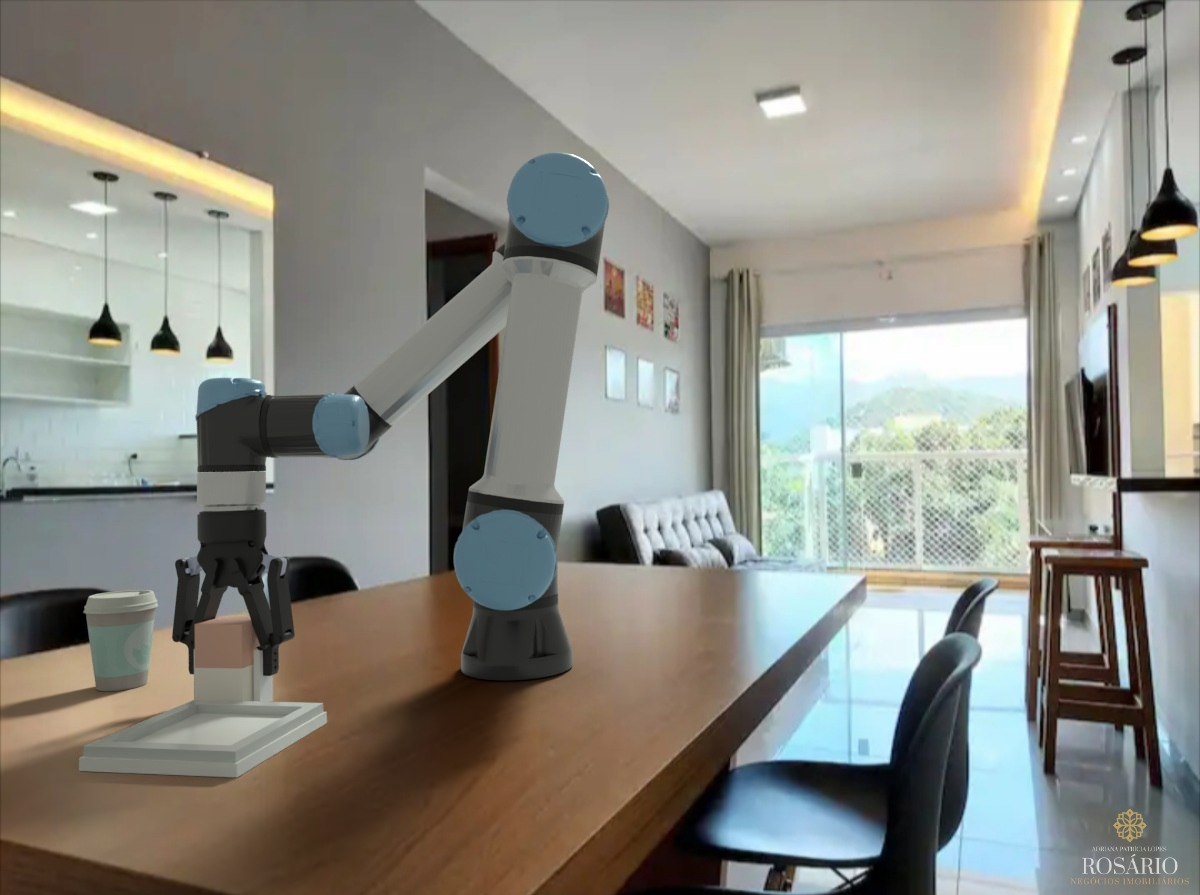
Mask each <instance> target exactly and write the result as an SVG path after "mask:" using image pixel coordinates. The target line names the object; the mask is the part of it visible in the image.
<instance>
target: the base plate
mask: <svg viewBox="0 0 1200 895" xmlns="http://www.w3.org/2000/svg"><path fill="white" fill-rule="evenodd" d="M327 714H328V712H327V711H324V703H323V702H301V701H300V702H297V701H296V702H295V701H294V702H293V701H270V702H262V701H221V700H194V699H192V700H191V701H187V702H186V703H184V704H181V705H179V706H177V707H174V708H171V709H169V710H167V711H164V712H162V713H159V714H157V715H154V716H153V717H149V718H148V719H145V720H143V721H140V722H138V723H135V724H133V725H131V726H128V727H126V728H123V729H121V730H119V731H115V732H114V733H111V734H109V735H107V736H104V737H102V738H100V739H99V738H98V739H97V740H95V741H93V742H90V743H88V744H84V745H83V755H82V756H80V757H79V759H78V771H79V772H94V773H95V772H98V773H118V774H119V773H121V774H142V775H144V774H145V775H147V774H148V775H164V776H165V775H169V776H189V777H190V776H191V777H192V776H193V777H195V776H196V777H213V778H214V777H216V778H217V777H218V778H238V777H240V776H242V775H244V774H245V773H247V772H249V771H250V770H252V769H254V768H255V767H256V766H258V765H260V764H262V763H263V762H265V761H267V760H268V759H270V758H272V757H273V756H275V755H276V754H279V753H280V752H281V751H283V750H284V749H286V748H288V747H290V746H291V745H293V744H295V743H296V742H298V741H300V740H301V739H302V738H305V737H306V736H308V735H310V734H311V733H313V732H314V731H316V730H318V729H319V728H321V727H323V726H325V725H326V724H327V723H328V715H327Z"/></svg>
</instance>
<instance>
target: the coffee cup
mask: <svg viewBox="0 0 1200 895" xmlns="http://www.w3.org/2000/svg"><path fill="white" fill-rule="evenodd" d="M157 607H159V604H158V599H157V598H156V595H155V591H153V590H150V589H148V590H147V589H131V590H118V591H109V592H101V593H95V594H92V595H89V596H88V598H87V601H86V604H85V605H84V609H83V612H82V613H83V614H85V616H86V617H85V618H86V625H87V630H88V631H87V632H88V639H89V640H88V641H89V646H90V653H91V654H90V655H91V661H92V669H93V677H94V682H95V689H96V690H97V691H99V692H121V691H127V690H131V689H136V688H139V687H142V686H145V685H147V683H148V677H149V671H150V670H149V669H150V661H151V654H152V653H151V652H152V644H153V636H154V626H155V617H156V609H157Z"/></svg>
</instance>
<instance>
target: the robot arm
mask: <svg viewBox="0 0 1200 895" xmlns="http://www.w3.org/2000/svg"><path fill="white" fill-rule="evenodd" d="M607 192H608V191H607V187H606V185H605V182H604V179H603V177H601V175H600V173H599V172H598V171H597V170H596V169H595V167H593V165H592V164H590V163H589V162H588V161H587V160H585V159H583V158H581V157H579V156H577V155H574V154H572V153H567V152H562V151H557V152H555V151H554V152H547V153H546V152H545V153H542V154H540V155H536V156H535V157H533V158H531V159H529V160H528V161H526V162H525V163H524V164H522V165H521V167H520V168H519V169H518V170H517V171H516V172H515V174H514V175H513V178H512V180H511V181H510V185H509V188H508V192H507V196H506V205H507V211H508V224H507V230H506V238H505V241H504V242H503V244H501V245H500V246H499V247H498V248H497V249H496V250H495V251H493V252H492V261H491V264H490V265H489V266H488V267H487V268H485V270H483V271H482V272H481V273H480V274H479V275H478V276H476V277H475V278H474V279H473V280H471V282H470V283H468V284H467V285H466V286H465V287H464V288H463V289H462V290H460V292H458V293H457V294H456V295H455V296H453V297H452V298H451V299H450V300H449V301H448V302H447V303H446V304H445V305H443V306H442V307H441V308H440V309H438V311H437V312H435V313H434V314H433V315H432V316H431V317H430V318H428V320H426V321H425V322H424V323H423V324H422V325H420V326H419V327H418V328H417V329H416V330H414V332H413V333H411V334H410V335H409V336H408V337H407V338H406V339H405V340H404V341H402V342H401V343H400V344H399V345H398V346H397V347H396V348H394V349H393V350H392V351H391V352H390V353H389V354H388V355H386V356H385V357H384V358H383V359H382V360H381V361H379V362H378V364H376V365H375V366H374V367H373V368H372V369H371V370H369V371H368V372H367V373H366V374H365V375H364V376H363V377H361V378H360V379H359V380H358V381H357V382H356V383H355V384H353V386H352V387H351V388H349V389H348V390H347V391H345V392H344V393H343V394H342V393H337V392H330V393H327V394H303V395H302V394H299V395H298V394H297V395H272V394H268V392H266V385H265V384H264V383H263V381H261V380H259V379H256V378H255V379H254V378H247V377H212V378H207V379H206V380H203V381H201V383H199V386H198V389H197V401H196V402H197V403H196V404H197V406H196V414H195V417H194V418H195V421H196V446H197V452H196V453H197V467H196V468H197V473H196V505H197V506H198V507H202V510H203V511H199V513H198V514H197V519H196V520H197V525H196V526H197V527H196V528H197V541H198V542H199V544H200V548H199V551H198V552H197V554H196V556H193V557H192V556H191V557H185V558H178V559H176V561H175V563H174V566H175V571H176V572H175V573H176V576H177V586H176V595H175V596H176V597H175V605H174V613H173V614H174V615H173V625H172V634H171V638H172V639H171V640H172V641H173V642H174V643H182V644H183V645H185V646H186V648H187V649H188V651H187V652H188V673H189V675H193V700H195V624H197V623H201V622H205V621H208V620H212V619H215V618H217V617H216V616H217V613H218V612H219V608H220V605H221V601H222V598H223V596H224V594H225V592H227V590H228V589H229V587H230V588H234V589H235V588H236V589H237V592H238V594H239V595H240V596H242V598H243V601H244V604H245V607H246V611H247V612H248V615H250V618H251V621H252V624H253V627H254V630H255V633H256V635H257V638H258V641H259V644H260V646H258V647H257V649H255V650H254V701H262V702H273V701H274V675H276V674H278V673H279V669H280V667H279V666H280V665H279V663H280V658H279V648H280V645H281V644H283V643H285V642H288V641H290V640H293V639H294V637H295V636H296V635H295V626H294V619H293V609H292V602H291V593H290V586H289V578H288V575H289V571H290V566H291V559H290V557H288V556H282V557H278V556H274V555H269V553H268V550H267V549H266V545H265V542H266V538H267V511H266V510H265V509H262V508H261V506H262V505H265V504H266V503H267V491H266V490H267V483H266V482H267V481H266V480H267V477H266V476H267V474H266V472H267V465H266V462H267V458H271V459H275V458H276V459H278V458H323V459H337V460H342V461H353V460H354V461H355V460H358V459H361V458H364V457H366V456H367V455H369V454H370V453H372V451H374V450H375V448H376V447H377V445H378V443H379V440H380V438H381V437H383V435H385V434H386V433H387V432H388V431H389V430H390V429H391V428H392V427H393V426H394V425H395V424H396V423H398V421H399V420H401V419H402V418H403V417H404V416H405V415H407V413H409V412H410V411H411V410H413V408H415V407H416V406H417V405H418V404H419V403H420V402H421V401H423V399H425V398H426V397H427V396H429V394H430V393H431V392H433V391H434V390H435V389H436V388H437V387H438V386H440V385H441V383H443V382H444V381H445V380H446V379H448V378H449V377H450V376H451V375H452V374H453V373H455V371H457V369H459V368H460V367H461V366H462V365H463V364H465V363H466V362H467V361H468V360H469V359H470V358H471V357H473V356H474V355H475V354H476V353H477V352H478V351H479V350H481V349H482V348H483V347H484V346H485V345H486V344H487V343H488V342H489V341H491V340H492V339H493V338H495V337H496V336H497V335H498V334H499V333H500V332H501V331H502V330H504V329H505V331H504V338H503V343H502V352H501V356H500V363H499V370H498V379H497V382H496V383H497V384H496V391H495V397H494V404H493V410H492V411H493V412H492V418H491V424H490V432H489V438H488V442H487V443H488V445H487V451H486V456H485V464H484V471H483V475H482V477H481V478H480V479H479V480H477V481H476V482H475V483H473V484H472V485H471V486H469V488H468V491H467V492H468V493H467V498H466V505H465V511H464V518H463V524H462V531H461V533H460V534H459V536H458V537H457V541H456V542H455V545H454V548H453V567H454V571H455V575H456V579H457V581H458V583H459V585H460V587H461V588H462V589H463V591H464V592H465V594H467V596H468V597H469V598H470V599H472V616H471V620H470V623H469V626H468V630H467V633H466V637H465V641H464V643H463V645H462V646H463V647H462V650H461V654H460V663H461V664H460V666H461V667H460V668H461V669H460V671H461V672H462V674H464V675H465V676H468V677H471V678H473V679H474V678H475V679H479V680H488V681H523V680H534V679H541V678H547V677H550V676H556V675H560V674H561V673H564V672H567V671H569V670H570V669H572V667H573V664H574V663H573V662H574V661H573V648H572V645H571V641H570V639H569V636H568V633H567V630H566V626H565V624H564V621H563V619H562V615H561V613H560V609H559V608H560V607H559V580H558V578H559V577H558V576H559V574H558V573H559V572H558V549H559V542H560V536H561V534H560V533H561V530H562V529H561V526H562V520H563V515H564V514H563V513H564V507H565V500H564V498H563V496H561V494H560V493H559V492H558V490H557V489H556V486H555V481H556V475H557V468H558V461H559V453H560V447H561V441H562V433H563V427H564V421H565V413H566V408H567V406H566V405H567V399H568V395H569V394H568V392H569V387H570V386H569V385H570V378H571V373H572V372H571V371H572V366H573V359H574V358H573V357H574V353H575V352H574V351H575V344H576V337H577V333H578V332H577V331H578V324H579V318H580V317H579V316H580V310H581V303H582V296H583V294H584V292H585V291H586V290H588V288H590V287H591V286H592V285H594V284H595V283H596V282H597V279H598V274H599V267H600V259H601V252H602V245H603V239H604V232H605V224H606V221H607V218H608V214H609V209H610V199H609V195H608V193H607ZM264 567H265V569H264V573H265V574H267V576H266V577H267V578H266V584H267V593H268V599H267V596H266V594H265V590H264V589H265V583H264V580H263V577H262V575H261V571H262V570H263V568H264ZM201 571H203V572H204V574H205V575H204V579H203V582H202V584H201V587H200V583H201ZM200 592H201V595H200V598H199V594H200ZM198 600H199V601H198ZM268 600H269V602H268Z"/></svg>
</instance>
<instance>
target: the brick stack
mask: <svg viewBox="0 0 1200 895" xmlns="http://www.w3.org/2000/svg"><path fill="white" fill-rule="evenodd" d="M258 646H260V644H259V641H258V638H257V635H256V633H255V630H254V627H253V624H252V621H251V618H250V615H249V614H248V615H245V614H244V615H242V614H241V615H240V614H239V615H236V614H235V615H233V614H231V615H227V614H226V615H223V616H219V617H215V619H212V620H208V621H205V622H201V623H197V624H195V700H221V701H254V650H255V649H257V647H258Z"/></svg>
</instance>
